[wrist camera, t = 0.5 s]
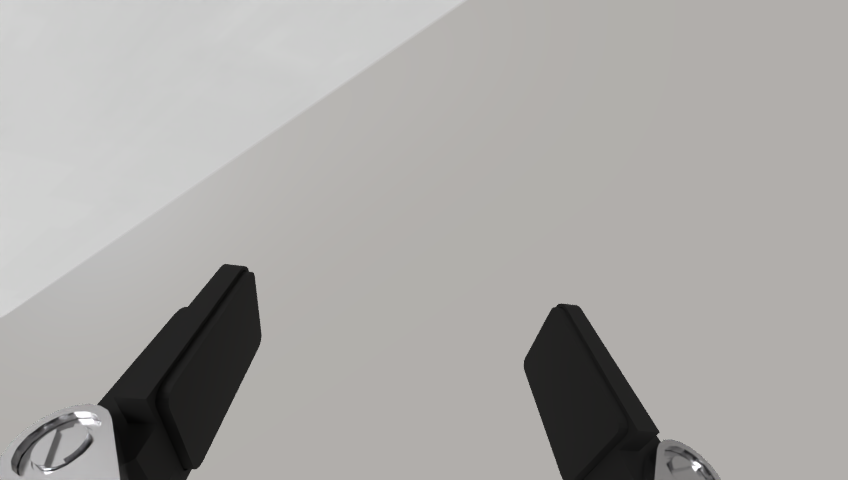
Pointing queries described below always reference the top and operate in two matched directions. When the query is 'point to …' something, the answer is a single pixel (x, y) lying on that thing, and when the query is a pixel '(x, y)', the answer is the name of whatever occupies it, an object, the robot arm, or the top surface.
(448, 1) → the top surface
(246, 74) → the top surface
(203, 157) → the top surface
